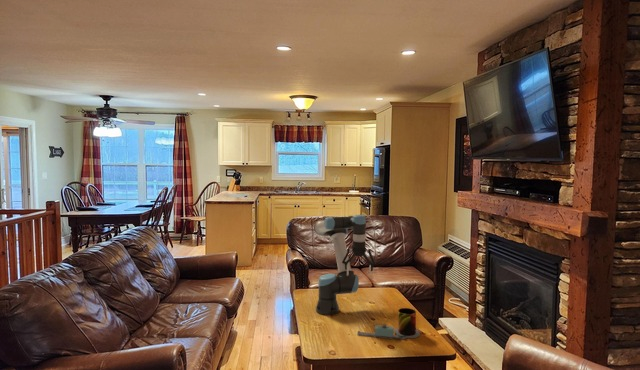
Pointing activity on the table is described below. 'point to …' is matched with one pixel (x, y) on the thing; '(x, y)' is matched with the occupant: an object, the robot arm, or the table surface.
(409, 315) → the mug
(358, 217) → the robot arm
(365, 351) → the table surface
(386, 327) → the latch block
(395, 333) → the coaster
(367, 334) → the rail
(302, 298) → the table surface
